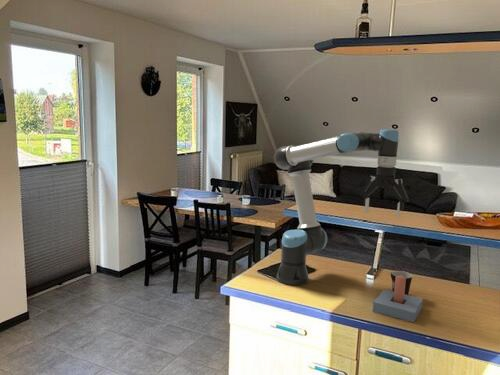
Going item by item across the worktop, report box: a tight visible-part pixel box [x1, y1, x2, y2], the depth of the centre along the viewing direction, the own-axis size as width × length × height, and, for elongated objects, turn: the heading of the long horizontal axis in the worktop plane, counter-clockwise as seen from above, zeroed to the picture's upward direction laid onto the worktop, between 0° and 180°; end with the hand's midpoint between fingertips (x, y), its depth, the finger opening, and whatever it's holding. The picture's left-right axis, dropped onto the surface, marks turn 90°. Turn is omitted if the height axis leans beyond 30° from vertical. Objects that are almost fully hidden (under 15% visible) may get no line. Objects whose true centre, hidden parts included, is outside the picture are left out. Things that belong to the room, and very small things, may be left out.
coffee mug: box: [390, 270, 413, 295], centre depth 187 cm, size 12×9×10 cm
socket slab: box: [372, 288, 424, 323], centre depth 173 cm, size 16×16×4 cm
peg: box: [393, 275, 406, 304], centre depth 172 cm, size 4×4×14 cm
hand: (381, 215), depth 181 cm, fingers open, 13 cm apart
